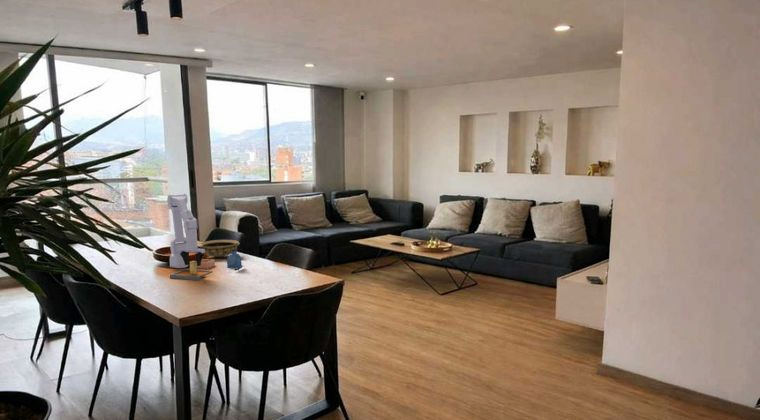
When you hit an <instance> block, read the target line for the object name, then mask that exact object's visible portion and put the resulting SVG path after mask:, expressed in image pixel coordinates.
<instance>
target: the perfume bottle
mask: <svg viewBox="0 0 760 420" xmlns="http://www.w3.org/2000/svg"><path fill="white" fill-rule="evenodd" d="M231 253H232V254H229V255H228V257H227V259H226V266H227V268H232V269H233V268H234V271H239V270H240V269H241V270H242V269H243V266H242V263H243V262H242V257H241V255H240V254H239V253H238V248H237V249H236V248H232V249H231Z"/></svg>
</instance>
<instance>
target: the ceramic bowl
mask: <svg viewBox="0 0 760 420" xmlns="http://www.w3.org/2000/svg"><path fill="white" fill-rule="evenodd" d="M198 245H199V246H200V249H205V253H206V254H208V255H209V257H213V260H223V259H226V258H227V256H229V255H231V254H232V253H231V249H232V248H236V249H237V250H238V246H240V242H239V241H238V240H234V239H214V240H213V239H212V240H207V241H203V242H202V241H201V242H199V244H198ZM206 254H205V255H206ZM208 255H207V256H208Z"/></svg>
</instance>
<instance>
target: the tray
mask: <svg viewBox="0 0 760 420" xmlns="http://www.w3.org/2000/svg"><path fill="white" fill-rule="evenodd" d="M185 271H189V272H190V268H182V269H181V270H179V271H175V272H173V273H170V274H169V278H170V279H175V280H176V279H177V280H189V281H190V280H191V281H201V280H203V279H206V278H207V276H206V275H208V274H211V273H213V272H214V271H213V270H207V269H204V270H203V269H196V272H201V273H202V274H200V275H192V274H190V275H188V274H179V273H182V272H185Z"/></svg>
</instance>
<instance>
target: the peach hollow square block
mask: <svg viewBox="0 0 760 420" xmlns="http://www.w3.org/2000/svg"><path fill="white" fill-rule="evenodd" d="M215 261H216V259H210V258H207V259H205V258H202V261H201V265H200V266H197V261H196V269H204V270H207V269H210V268H212V267H215V266H216V262H215Z"/></svg>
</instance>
